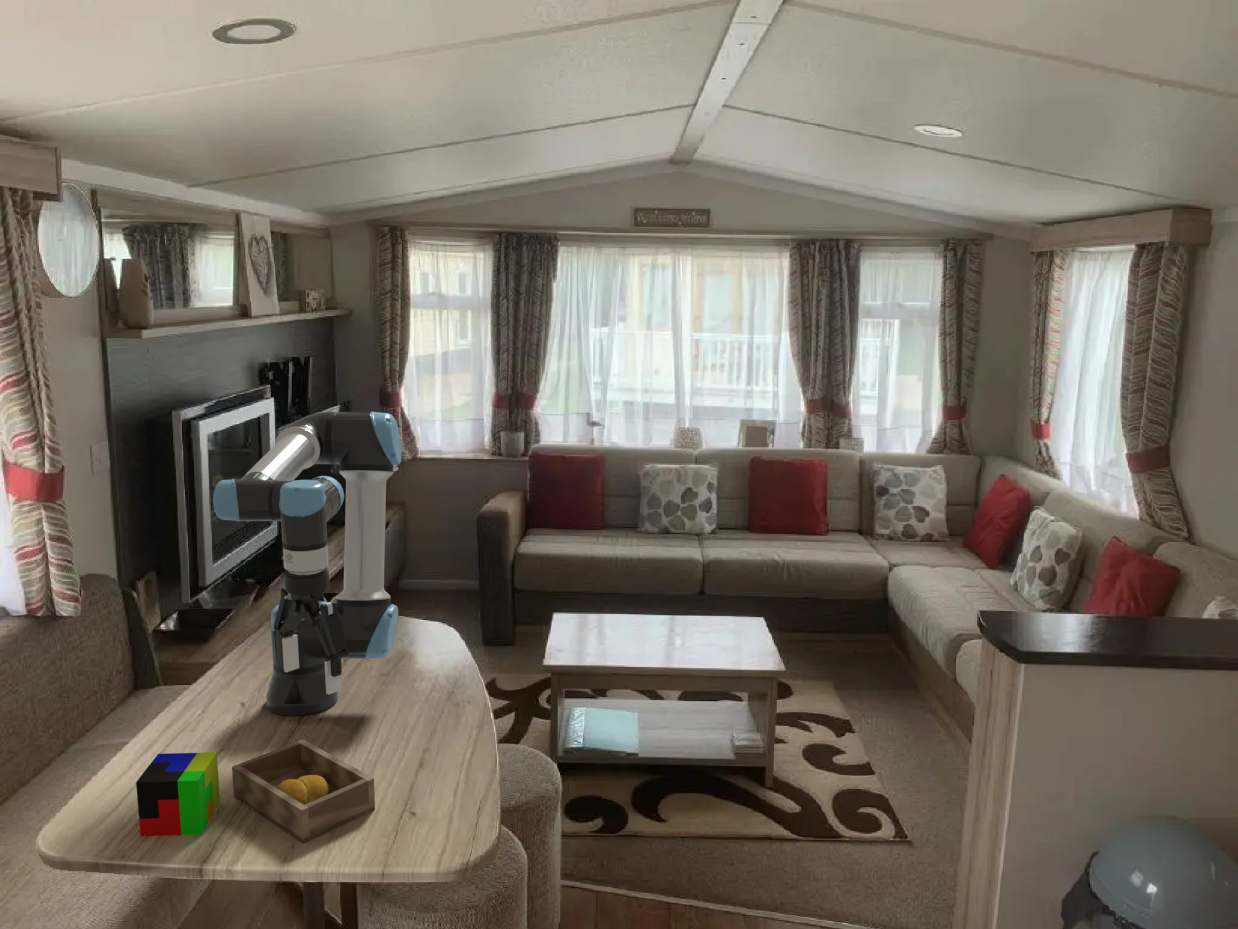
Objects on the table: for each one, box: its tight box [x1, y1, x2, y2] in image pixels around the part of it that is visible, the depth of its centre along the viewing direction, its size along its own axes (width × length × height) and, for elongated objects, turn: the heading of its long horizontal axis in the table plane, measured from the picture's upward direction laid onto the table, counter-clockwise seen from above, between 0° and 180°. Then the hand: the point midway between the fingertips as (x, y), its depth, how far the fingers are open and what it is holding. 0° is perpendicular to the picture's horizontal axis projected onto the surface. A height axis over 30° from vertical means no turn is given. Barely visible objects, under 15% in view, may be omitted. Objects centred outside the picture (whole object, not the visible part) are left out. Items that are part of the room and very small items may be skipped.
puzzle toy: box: [135, 751, 221, 837], centre depth 171 cm, size 10×10×10 cm
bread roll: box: [278, 775, 329, 805], centre depth 177 cm, size 8×9×4 cm
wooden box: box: [231, 739, 376, 844], centre depth 177 cm, size 22×14×6 cm, turn 50°
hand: (312, 680), depth 179 cm, fingers open, 13 cm apart
